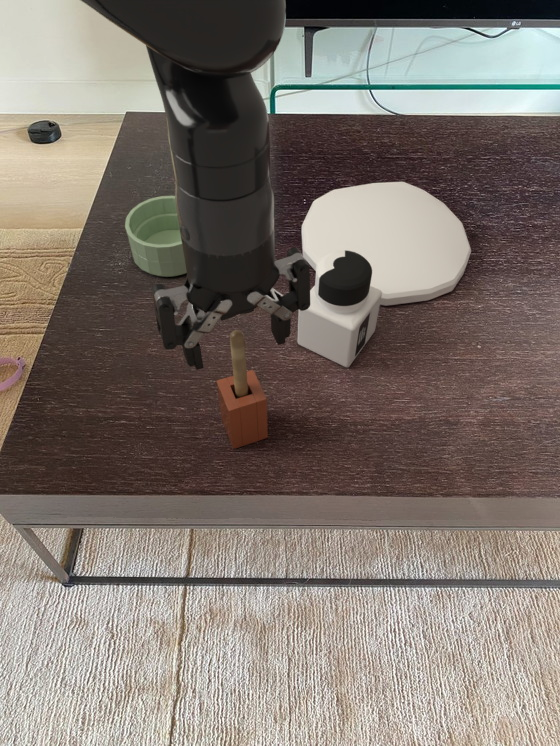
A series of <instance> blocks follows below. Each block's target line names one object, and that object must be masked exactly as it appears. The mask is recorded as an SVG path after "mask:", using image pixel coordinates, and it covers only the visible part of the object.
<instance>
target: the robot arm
mask: <svg viewBox="0 0 560 746" xmlns="http://www.w3.org/2000/svg"><path fill="white" fill-rule="evenodd" d="M79 1H80V2H82V3H83V4H85V5H86V6H88V7H89V8H90V9H92V10H93V11H95V12H96V13H97V14H98V15H100V16H102V17H103V18H104V19H106V20H107V21H109V22H110V23H111V24H113V25H115V26H116V27H117V28H119V29H121V30H122V31H123V32H125V33H126V34H128V35H129V36H131V37H133V38H134V39H136V40H137V41H139V42H140V43H142V44H143V45H145V47H146V51H147V54H148V58H149V62H150V65H151V68H152V72H153V75H154V78H155V81H156V85H157V89H158V91H159V95H160V97H161V101H162V105H163V110H164V113H165V118H166V123H167V124H166V125H167V138H168V146H169V152H170V158H171V164H172V171H173V177H174V196H175V203H176V210H177V216H178V222H179V229H180V234H181V240H182V246H183V252H184V258H185V264H186V270H187V273H186V278H185V280H184V283H183V285H180V286H175V287H172V288H166V285H165V284H163V283H156V284H154V285H153V286H152V288H151V294H152V299H153V300H152V301H153V308H154V314H155V315H154V316H155V321H156V328H157V331H158V333H159V335H160V337H161V341H162V345H163V348H164V349H165V350H168V351H171V350H174V349H175V348H176V347H178V346H182V351H183V355H184V358H185V360H186V364H187V366H189V367H190V368H191V367H195V370H197V371H198V370H201V369H204V367H205V366H204V361H203V355H202V350H201V344H200V340H202V338H203V336H205V334H208V335H209V334H210V333H211V332H212V331H213V329H214V327H216V325H217V323H218V322H219V321H225V320H229V319H231V318H233V317H235V316H237V315H245V314H250V313H253V312H255V309H256V308H260V309H261V310H263V311H264V312H266V313H267V314H269V315H270V330H271V331H270V332H271V334H272V336H273V338H274V340H275V342H276V344H277V346H281V345H284V344H286V338H290V335H291V329H292V328H291V326H292V325H291V322H292V317H293V315H294V313H295V312H296V311H299V310H301V311H304V310H307V309H308V308H309V307H310V290H311V275H310V265H309V263H308V262H307V261H306V260H305V259H304V257H303V253H302V252H301V250H300V249H299V248H298V247H291V248H289V249H288V250H287V252H286V257H283V258H280V259H277V260H276V259H275V258H276V256H275V255H276V254H275V247H276V246H275V245H276V244H275V219H276V205H275V196H274V195H275V194H274V187H273V181H272V175H271V140H270V139H271V137H270V121H269V114H268V109H267V105H266V102H265V99H264V98H263V96H262V94H261V92H260V90H259V88H258V86H257V84H256V82H255V80H254V77H253V75H252V73H254V72H256V71H257V70H258V69H260V68H261V67H262V66H264V65H265V64H266V63H267V62H268V61H269V60H270V59H271V58H272V56H273V55H274V54H275V53H276V51H277V49H278V47H279V45H280V44H281V40H282V39H283V35H284V31H285V27H286V20H287V19H286V18H287V4H286V0H79ZM280 275H283V276H284V278H285V279H286V280H287V281H288V292H287V293H286V294H282V293H281V292H279V291H278V290H277V289H275V288H274V286H275V285H276V284H277V282H278V281H279V279H280ZM187 301H188V303H187V305H186V312H185V313H184V315H183V317H182V318H181V319H180V320H179V322H178V324H176V321H175V320H176V319H175V317H176V316H178V315H179V314H180V312H179V311H180V310H181V309H182V308H181V307H182V304H183V303H184V302H187Z"/></svg>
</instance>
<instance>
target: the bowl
mask: <svg viewBox="0 0 560 746" xmlns="http://www.w3.org/2000/svg"><path fill="white" fill-rule="evenodd" d="M124 229H125V232H126V237H127V241H128V245H129V249H130V252H131V253H130V254H131V256H132V259H133V262H134V264H135V265H136V266H137V267H138V268H139V269H140V270H142V271H143V272H145V273H148V274H150V275H154V276H157V277H165V278H168V277H169V278H170V277H171V278H172V277H178V276H182V275H185V274H187V270H186V264H185V258H184V252H183V246H182V240H181V234H180V229H179V222H178V216H177V210H176V203H175V195H160V196H156V197H152V198H149V199H145V200H144V201H142V202H139V203H138V204H136V205H135V206H134V207H133V208H132V209H130V210H129V213H128V214H127V216H126V217H125V221H124Z"/></svg>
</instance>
